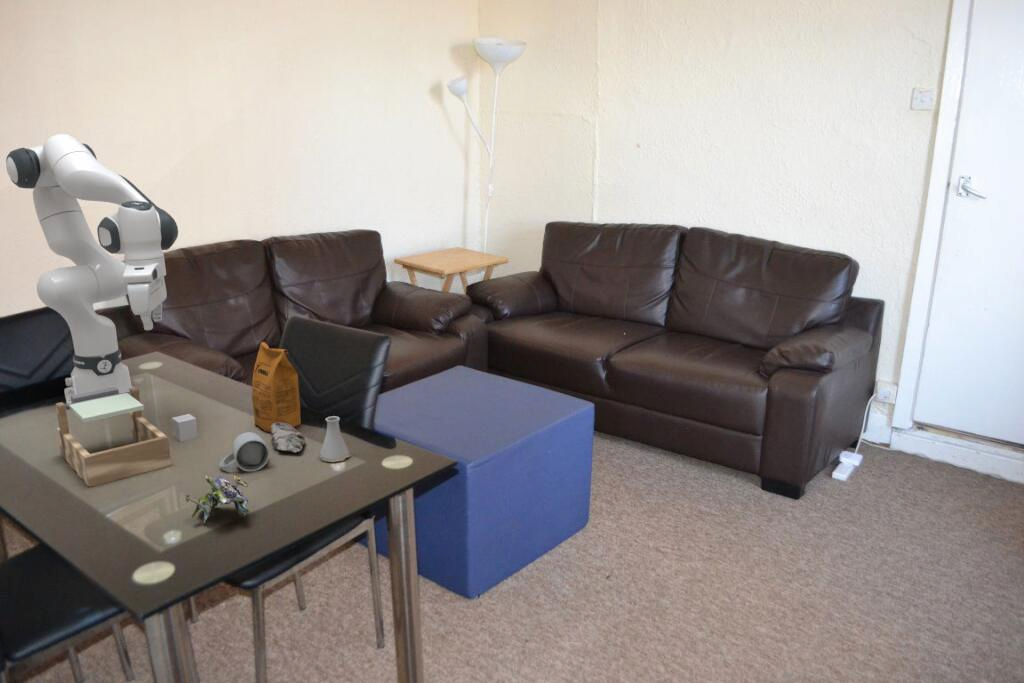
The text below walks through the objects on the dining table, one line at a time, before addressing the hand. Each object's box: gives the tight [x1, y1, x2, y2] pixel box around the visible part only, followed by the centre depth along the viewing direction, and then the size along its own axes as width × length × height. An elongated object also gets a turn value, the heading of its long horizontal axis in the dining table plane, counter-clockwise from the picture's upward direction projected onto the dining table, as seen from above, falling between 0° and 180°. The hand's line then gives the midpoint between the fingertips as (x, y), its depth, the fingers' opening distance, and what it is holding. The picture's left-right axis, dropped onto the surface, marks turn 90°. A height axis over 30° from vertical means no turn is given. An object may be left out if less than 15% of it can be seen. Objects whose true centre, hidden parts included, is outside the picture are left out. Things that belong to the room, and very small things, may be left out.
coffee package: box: [251, 341, 302, 434], centre depth 213 cm, size 10×12×22 cm
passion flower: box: [184, 473, 249, 526], centre depth 165 cm, size 11×11×12 cm
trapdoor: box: [65, 387, 145, 424], centre depth 193 cm, size 16×14×3 cm
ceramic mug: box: [219, 431, 270, 473], centre depth 190 cm, size 11×8×8 cm
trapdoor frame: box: [55, 386, 172, 488], centre depth 192 cm, size 23×18×14 cm
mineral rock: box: [271, 422, 306, 454], centre depth 203 cm, size 15×8×4 cm, turn 15°
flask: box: [318, 415, 350, 460], centre depth 195 cm, size 7×7×10 cm
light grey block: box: [171, 413, 199, 443], centre depth 207 cm, size 4×4×5 cm
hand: (153, 325), depth 201 cm, fingers open, 8 cm apart
